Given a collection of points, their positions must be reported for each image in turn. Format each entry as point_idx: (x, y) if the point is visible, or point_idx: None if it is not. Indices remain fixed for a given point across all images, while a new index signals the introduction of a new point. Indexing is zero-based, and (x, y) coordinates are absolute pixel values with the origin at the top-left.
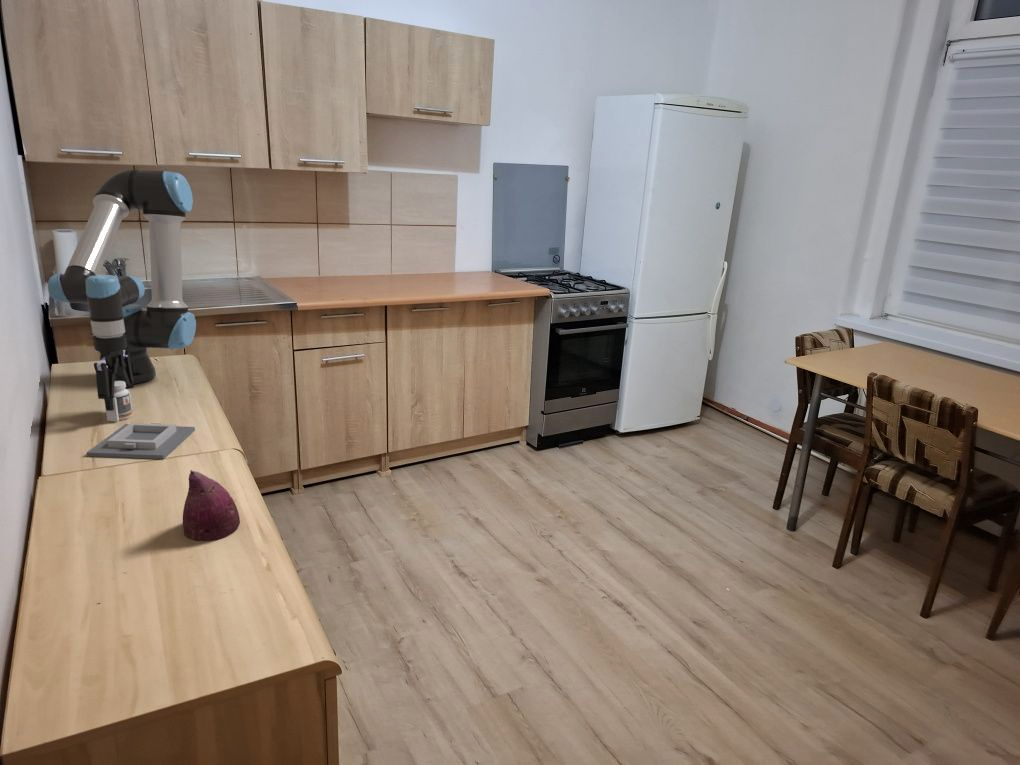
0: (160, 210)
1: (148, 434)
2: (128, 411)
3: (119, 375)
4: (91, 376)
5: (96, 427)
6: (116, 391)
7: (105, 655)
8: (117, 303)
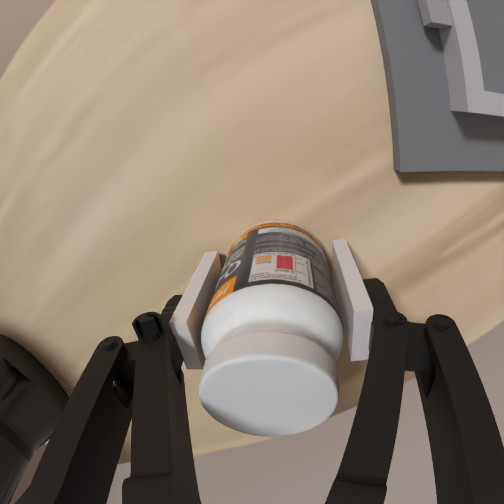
0: None
1: (475, 22)
2: (283, 232)
3: (182, 437)
4: None
5: (399, 284)
6: (322, 346)
7: None
8: None
